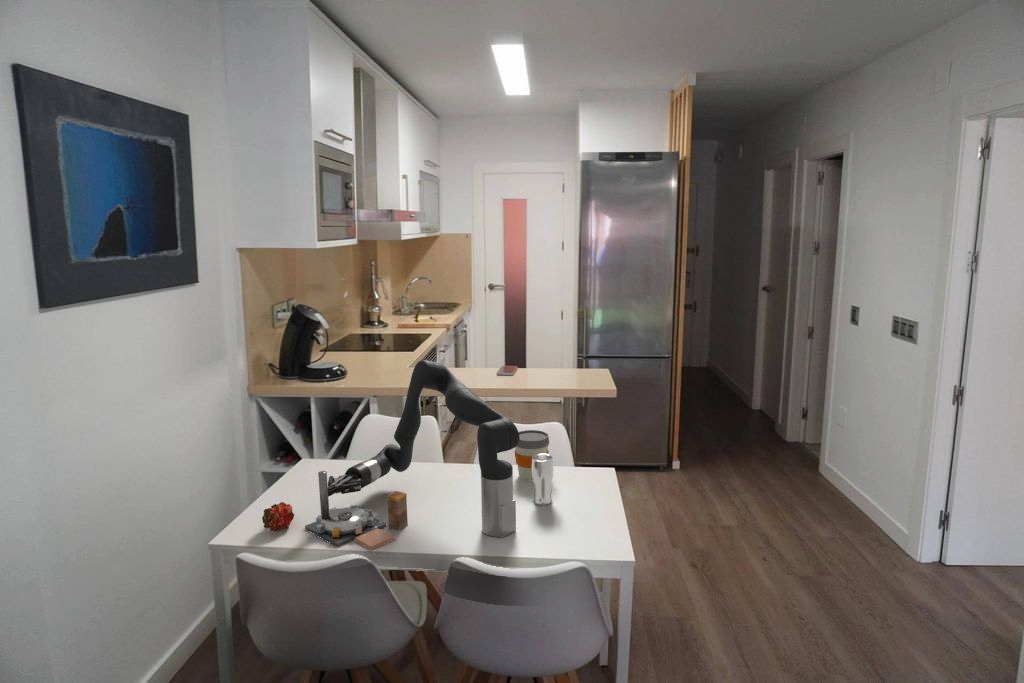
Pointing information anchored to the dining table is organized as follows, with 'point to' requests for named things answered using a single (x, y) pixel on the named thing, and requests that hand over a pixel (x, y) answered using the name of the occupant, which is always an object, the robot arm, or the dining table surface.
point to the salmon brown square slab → (374, 538)
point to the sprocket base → (345, 537)
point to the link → (397, 510)
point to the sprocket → (340, 514)
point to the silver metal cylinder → (542, 478)
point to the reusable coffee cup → (530, 451)
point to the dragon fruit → (278, 516)
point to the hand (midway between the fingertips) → (324, 493)
